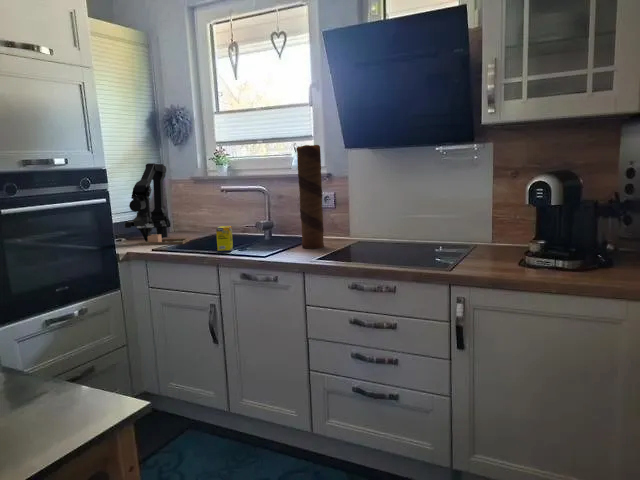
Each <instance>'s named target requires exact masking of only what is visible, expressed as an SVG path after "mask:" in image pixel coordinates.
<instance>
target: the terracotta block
mask: <svg viewBox="0 0 640 480" xmlns="http://www.w3.org/2000/svg"><path fill="white" fill-rule="evenodd" d="M162 239H163V238H162V237H161V234H150V235H149V236H148V242H162Z"/></svg>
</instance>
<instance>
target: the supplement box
mask: <svg viewBox="0 0 640 480" xmlns="http://www.w3.org/2000/svg"><path fill="white" fill-rule="evenodd" d="M215 231H216V232H215V233H216V234H215V235H216V244H217V245H216V246H217V247H216V248H217V253H231V252H232V251H234V243H233V242H234V241H233V228H232V226H231V225H227V226H223V225H221V226H218V227H216V228H215Z"/></svg>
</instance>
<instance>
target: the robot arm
mask: <svg viewBox="0 0 640 480" xmlns="http://www.w3.org/2000/svg"><path fill="white" fill-rule="evenodd" d="M166 173H167V166H166V165H165V164H164V163H154V162H153V163H152V162H150V163H149V162H148V163H145V168H144V171H143V173H142V174H141V175H142V176H141V178H140V180H138V181H136V183H135V184H134V186H133V187H132V192H131V201H130V202H129V205H128V207H129V209H130V210H131V212H135V213H136V217H135V218H133V220H127V221H125V222H124V226H123V227H124V228H125V229H126V228H127V229H128V228H132V227H136V230H138V231H140V233H141V235H142V237H143V240H144V241H145V242H146V241H148V236H149V235H151V232H152V230H153V229H155V232H156V234H161V237H162V239H165V238H169V234H168V232H169V231H168V228H171V227H172V226H171V225H172V223H171V220H170V218H169V216H168V212H167V211H166V210H165V208H164V207H165V205H164V186H163V185H164V184H163V181H164V179H165V178H166V175H167V174H166ZM151 183H152V184H153V202H154V203H153V205H154V207H153V210H151V205H150V200H151V198H150V197H151V193H152V187H151ZM156 234H155V235H156Z"/></svg>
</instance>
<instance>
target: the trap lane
mask: <svg viewBox="0 0 640 480" xmlns="http://www.w3.org/2000/svg"><path fill="white" fill-rule="evenodd" d="M190 240H191V239H190V238H189V237H188V238H186V237H185V238H162V242H148V241H145V242H137V245H138V247H139V246H163V245H164V246H165V245H167V246H169V245H182V247H185V246H186V245H188V244H189V243H191V241H190Z"/></svg>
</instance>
